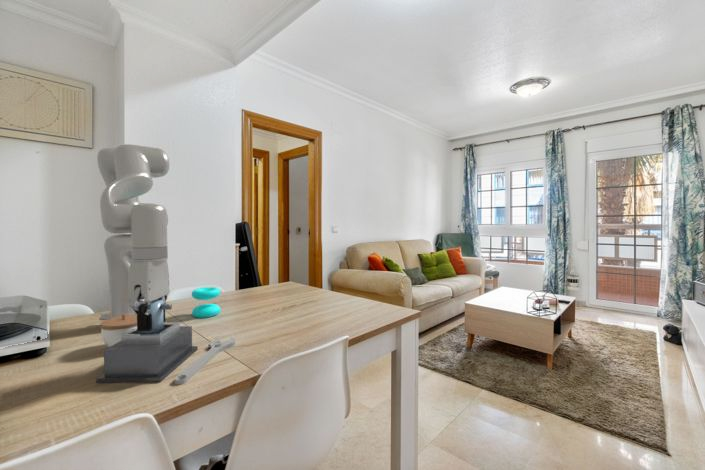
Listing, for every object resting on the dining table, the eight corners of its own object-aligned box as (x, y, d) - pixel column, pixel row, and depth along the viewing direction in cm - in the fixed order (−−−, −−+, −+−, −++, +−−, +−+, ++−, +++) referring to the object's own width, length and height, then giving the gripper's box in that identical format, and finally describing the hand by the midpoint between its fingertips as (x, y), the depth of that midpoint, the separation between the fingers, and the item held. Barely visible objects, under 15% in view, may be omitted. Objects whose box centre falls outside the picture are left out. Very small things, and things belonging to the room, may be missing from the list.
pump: (135, 333, 77) (134, 304, 76) (148, 326, 82) (147, 299, 81) (165, 333, 77) (164, 304, 76) (176, 326, 82) (175, 299, 81)
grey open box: (96, 382, 70) (95, 343, 70) (146, 350, 88) (145, 318, 88) (160, 382, 71) (159, 342, 70) (197, 349, 89) (196, 318, 88)
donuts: (185, 291, 118) (203, 286, 128) (185, 317, 119) (204, 310, 128) (208, 292, 116) (225, 287, 126) (209, 319, 116) (225, 312, 126)
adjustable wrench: (183, 387, 70) (183, 379, 69) (157, 385, 70) (156, 377, 70) (238, 343, 94) (238, 337, 94) (218, 342, 95) (218, 336, 95)
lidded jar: (108, 342, 94) (107, 311, 93) (150, 337, 98) (149, 307, 98) (95, 356, 84) (94, 322, 84) (142, 350, 88) (141, 317, 88)
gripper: (155, 251, 87) (156, 316, 88) (109, 258, 70) (111, 339, 71) (182, 251, 87) (184, 316, 88) (143, 258, 70) (145, 339, 71)
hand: (151, 325), depth 79 cm, fingers closed on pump, 5 cm apart
